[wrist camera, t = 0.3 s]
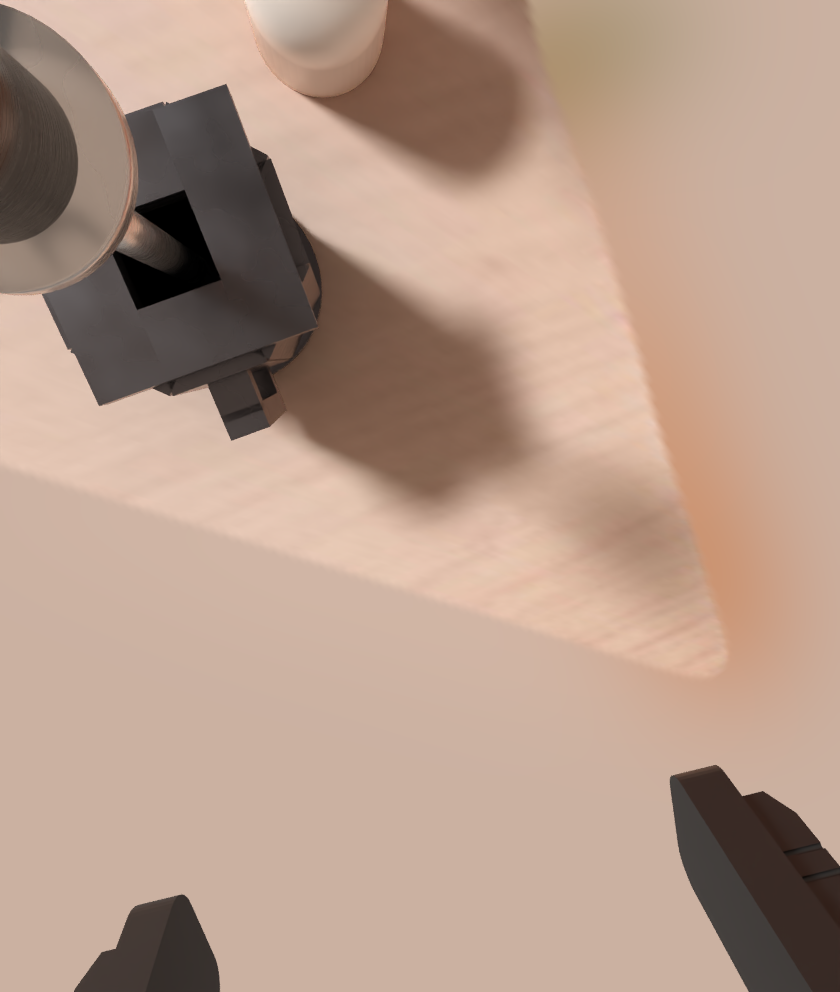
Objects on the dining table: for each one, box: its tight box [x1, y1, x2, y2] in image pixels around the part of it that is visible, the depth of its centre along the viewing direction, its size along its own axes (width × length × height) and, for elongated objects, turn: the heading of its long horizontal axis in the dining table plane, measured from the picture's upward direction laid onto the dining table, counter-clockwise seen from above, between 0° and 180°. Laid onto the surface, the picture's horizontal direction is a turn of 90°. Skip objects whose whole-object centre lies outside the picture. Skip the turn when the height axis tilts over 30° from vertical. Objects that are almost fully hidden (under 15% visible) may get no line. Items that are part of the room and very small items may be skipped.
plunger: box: [0, 4, 208, 295], centre depth 17 cm, size 5×5×21 cm
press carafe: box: [42, 84, 322, 441], centre depth 29 cm, size 12×10×13 cm
